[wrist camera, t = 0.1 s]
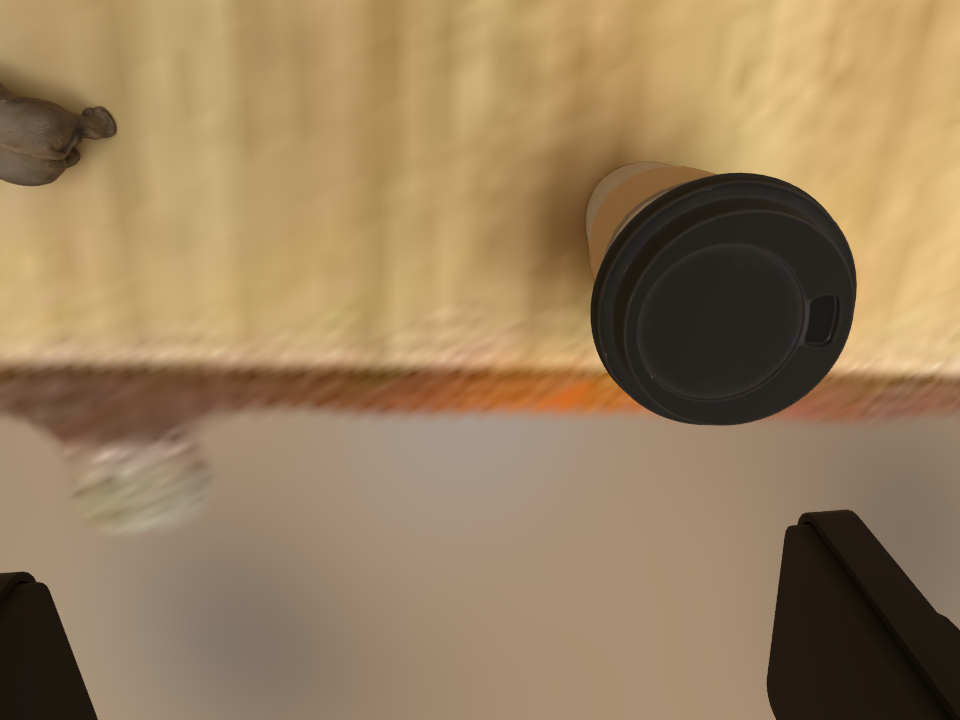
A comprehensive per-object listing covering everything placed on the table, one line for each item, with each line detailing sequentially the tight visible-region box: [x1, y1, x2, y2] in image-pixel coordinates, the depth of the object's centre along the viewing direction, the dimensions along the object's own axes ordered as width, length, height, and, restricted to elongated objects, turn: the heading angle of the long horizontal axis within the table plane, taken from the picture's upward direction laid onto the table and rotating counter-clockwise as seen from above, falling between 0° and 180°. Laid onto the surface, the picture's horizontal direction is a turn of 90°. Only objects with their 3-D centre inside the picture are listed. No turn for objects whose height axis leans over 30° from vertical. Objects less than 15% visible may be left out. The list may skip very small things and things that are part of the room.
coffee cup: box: [586, 162, 857, 425], centre depth 33 cm, size 9×9×15 cm
